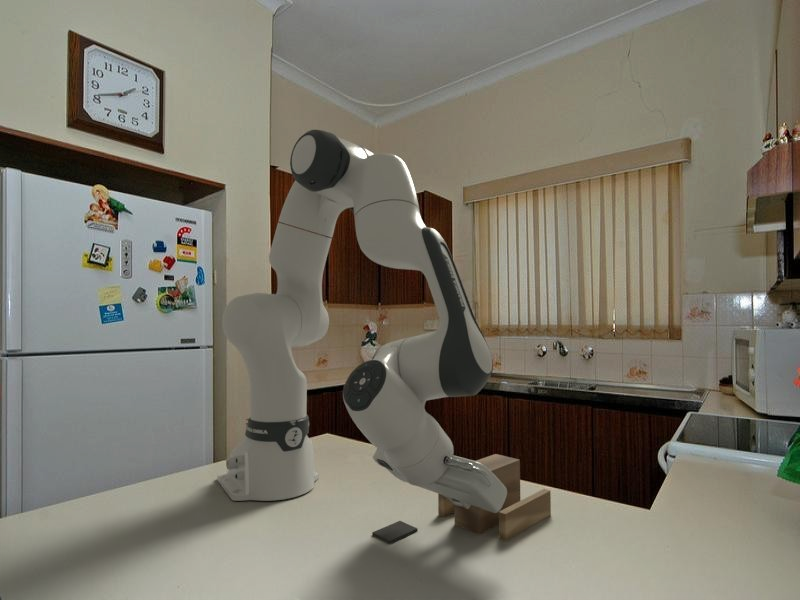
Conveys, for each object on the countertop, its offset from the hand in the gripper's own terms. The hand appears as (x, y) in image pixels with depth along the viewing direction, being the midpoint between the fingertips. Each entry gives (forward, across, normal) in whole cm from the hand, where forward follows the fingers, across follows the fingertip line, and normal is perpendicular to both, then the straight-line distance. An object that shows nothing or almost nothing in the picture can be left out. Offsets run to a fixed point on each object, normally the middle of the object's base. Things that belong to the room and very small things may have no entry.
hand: (463, 502), depth 72 cm
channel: (+9, 0, -3) cm, 10 cm away
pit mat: (-3, +7, +9) cm, 12 cm away
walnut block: (+8, 0, -2) cm, 8 cm away
